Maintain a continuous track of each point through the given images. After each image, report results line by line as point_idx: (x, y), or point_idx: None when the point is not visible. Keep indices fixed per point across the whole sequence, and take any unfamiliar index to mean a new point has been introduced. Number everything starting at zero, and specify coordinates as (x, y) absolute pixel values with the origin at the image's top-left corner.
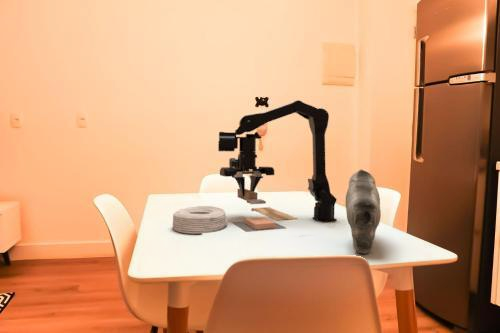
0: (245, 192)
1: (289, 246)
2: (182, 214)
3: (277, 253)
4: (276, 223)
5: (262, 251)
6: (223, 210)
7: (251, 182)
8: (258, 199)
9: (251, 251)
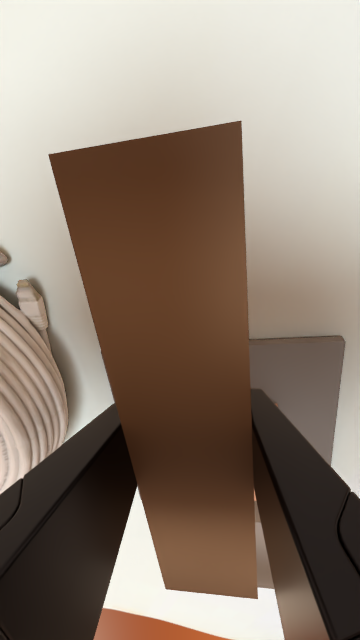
0: (145, 497)
1: (228, 602)
2: None
3: (178, 617)
4: (330, 436)
5: (149, 601)
6: (15, 438)
7: (307, 634)
8: (258, 529)
9: (125, 593)
